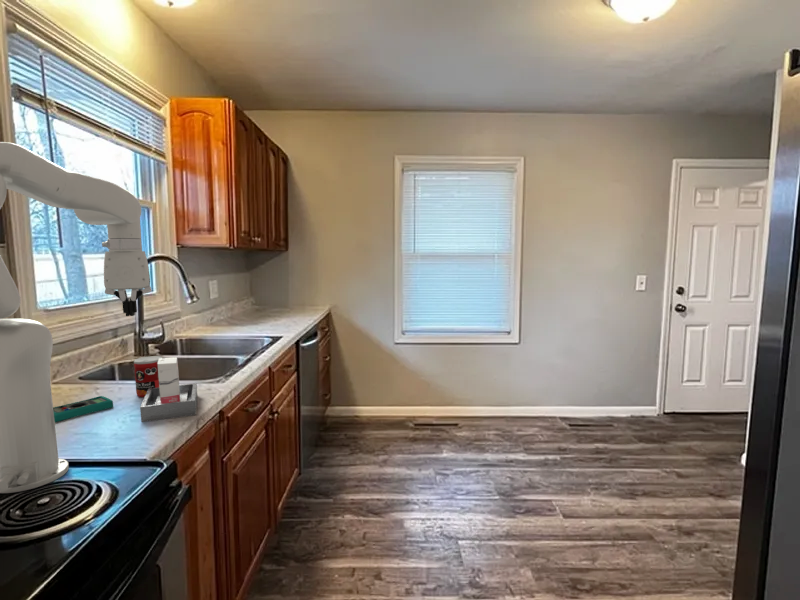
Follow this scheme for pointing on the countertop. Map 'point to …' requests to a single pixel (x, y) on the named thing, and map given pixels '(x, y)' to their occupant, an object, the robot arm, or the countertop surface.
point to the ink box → (168, 380)
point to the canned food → (146, 374)
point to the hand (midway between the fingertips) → (130, 315)
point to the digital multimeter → (81, 408)
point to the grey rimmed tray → (169, 404)
